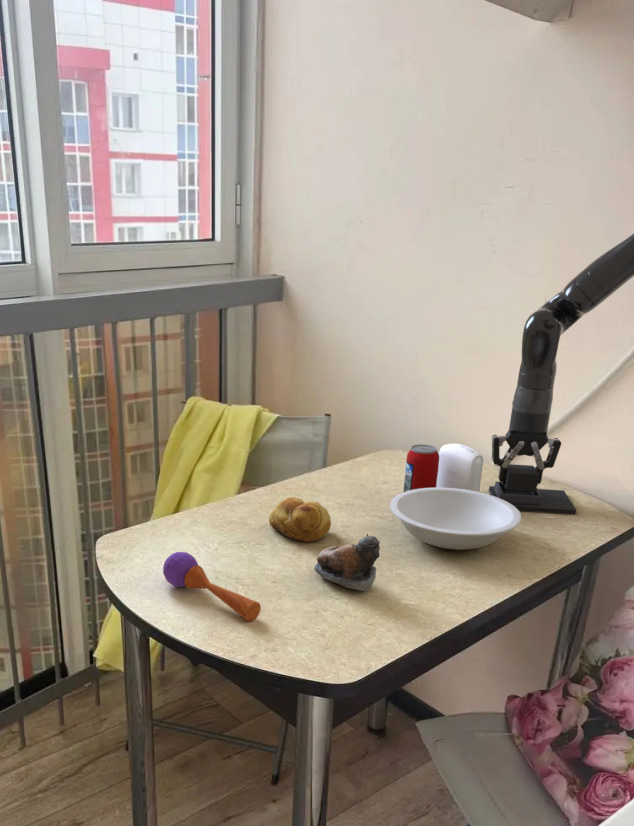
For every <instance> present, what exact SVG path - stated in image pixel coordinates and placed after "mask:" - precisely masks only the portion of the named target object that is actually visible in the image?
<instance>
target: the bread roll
mask: <svg viewBox="0 0 634 826" xmlns="http://www.w3.org/2000/svg"><path fill="white" fill-rule="evenodd" d="M268 522H269V525H270V526H271V528H272V529H274V530H275V531H278V532H280V533H281V534H282V535H284V536H286V537H287V538H289V539H291V540H295V541H298V542H304V543H311V542H317V541H319V540H320V539H323V538H324V537H325V536H326V535H327V534H329V532H330V530H331V526H332V520H331V516H330V513H329V511H328V510H327V508H326V507H325V506H323V505H322V504H321V503H319V502H318V501H307V502H305V501H304V500H303V499H302V498H299V497H293V496H289V497H286V498H285V499H283V500H281V501H280V502H279V503H277V505H276V506H275V508H274V509H273V510H271V512H270V513H269V515H268Z"/></svg>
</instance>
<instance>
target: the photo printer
mask: <svg viewBox="0 0 634 826" xmlns="http://www.w3.org/2000/svg"><path fill="white" fill-rule="evenodd" d="M438 454H439V467H438V476H437V484H436V487H443V488H458V489H466V490H472V491H477V492H481V491H480V489H481V481H482V475H483V467H484V457H483V455H482V454H481V453H479V452H478V451H477V450H476V449H474V448H472V447H469V446H467V445H464V444H461V443H448V444H444V445H442V446H441V448H440V449H439V452H438Z"/></svg>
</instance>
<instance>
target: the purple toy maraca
mask: <svg viewBox="0 0 634 826" xmlns="http://www.w3.org/2000/svg"><path fill="white" fill-rule="evenodd" d="M162 573H163V577H164V579H165V580H166V582H168V584H170V585H172V586H174V587H176V588H187V589H189V590H190V589H191V590H197V589H200V590H201V589H206V590H208V591H209V592H210V593H211V594H213V595H214V596H215V597H217V598H218V599H219V600H221V601H222V602H223V603H224V604H225V605H227V606H228V607H229V608H230V609H232V610H233V611H234V612H235V613H237V614H238V615H239V616H241V617H242V618H243V619H244V620H246V621H247V622H253V621H255V620H256V619H257V618H258V617H259V615H260V613H261V611H262V610H261V609H262V607H261V603H260V602H258V601H257V600H253V599H251V598H249V597H246V596H244V595H241V594H239V593H236V592H234V591H232V590H230V589H227V588H225V587H222V586H220V585H216V584H214V583H212V582H210V580H209V577H208V576H207V574H206V572H205V570H204V568H203V567H202V566H201V565H199V564H198V561H197V560H196V558H195V557H194V556H193V555H192V554H190V553H188V552H186V551H176V552H173V553H171V554H170V555H169V556H167V558H166V559H165V561H164V563H163V567H162Z"/></svg>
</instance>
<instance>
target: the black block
mask: <svg viewBox="0 0 634 826" xmlns="http://www.w3.org/2000/svg"><path fill="white" fill-rule="evenodd" d="M537 481H538V473H537V472H536V470H535V466H534V465H532V464H531V465H528V464H511V463H510V464H509V465H508V470H507V476H506V483H505V484H504V487H505V489H506V490H507V491H523V492H536V487H538V485H537Z"/></svg>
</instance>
